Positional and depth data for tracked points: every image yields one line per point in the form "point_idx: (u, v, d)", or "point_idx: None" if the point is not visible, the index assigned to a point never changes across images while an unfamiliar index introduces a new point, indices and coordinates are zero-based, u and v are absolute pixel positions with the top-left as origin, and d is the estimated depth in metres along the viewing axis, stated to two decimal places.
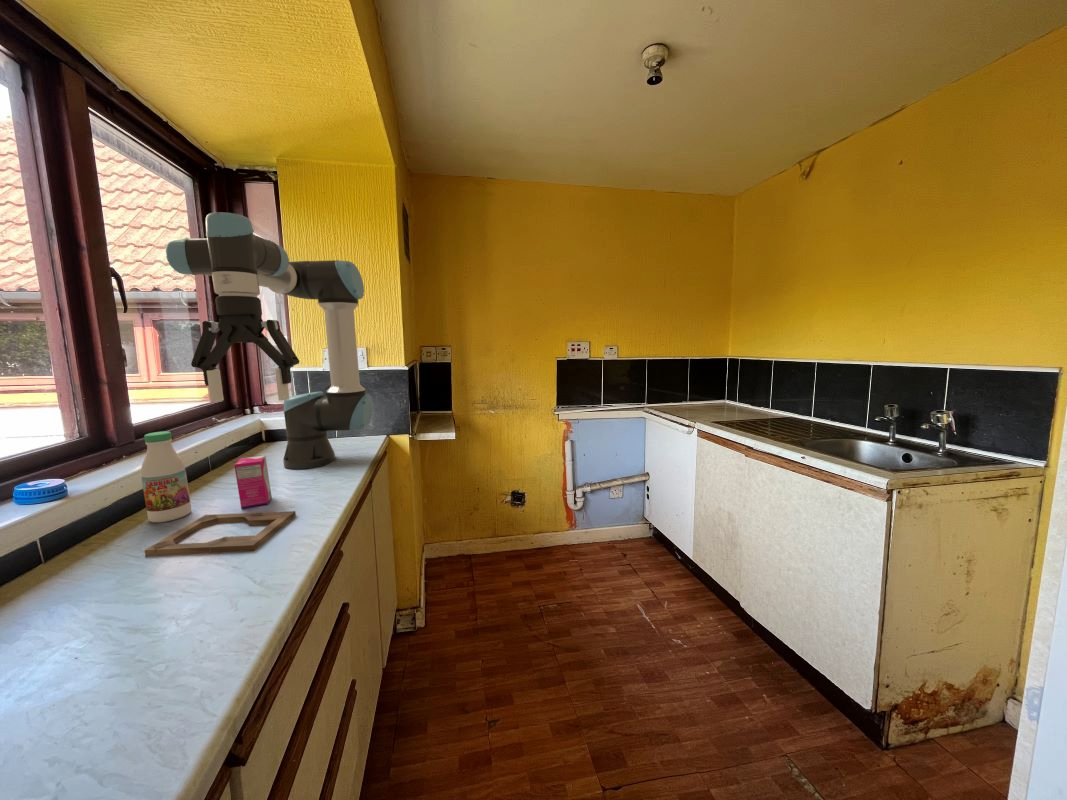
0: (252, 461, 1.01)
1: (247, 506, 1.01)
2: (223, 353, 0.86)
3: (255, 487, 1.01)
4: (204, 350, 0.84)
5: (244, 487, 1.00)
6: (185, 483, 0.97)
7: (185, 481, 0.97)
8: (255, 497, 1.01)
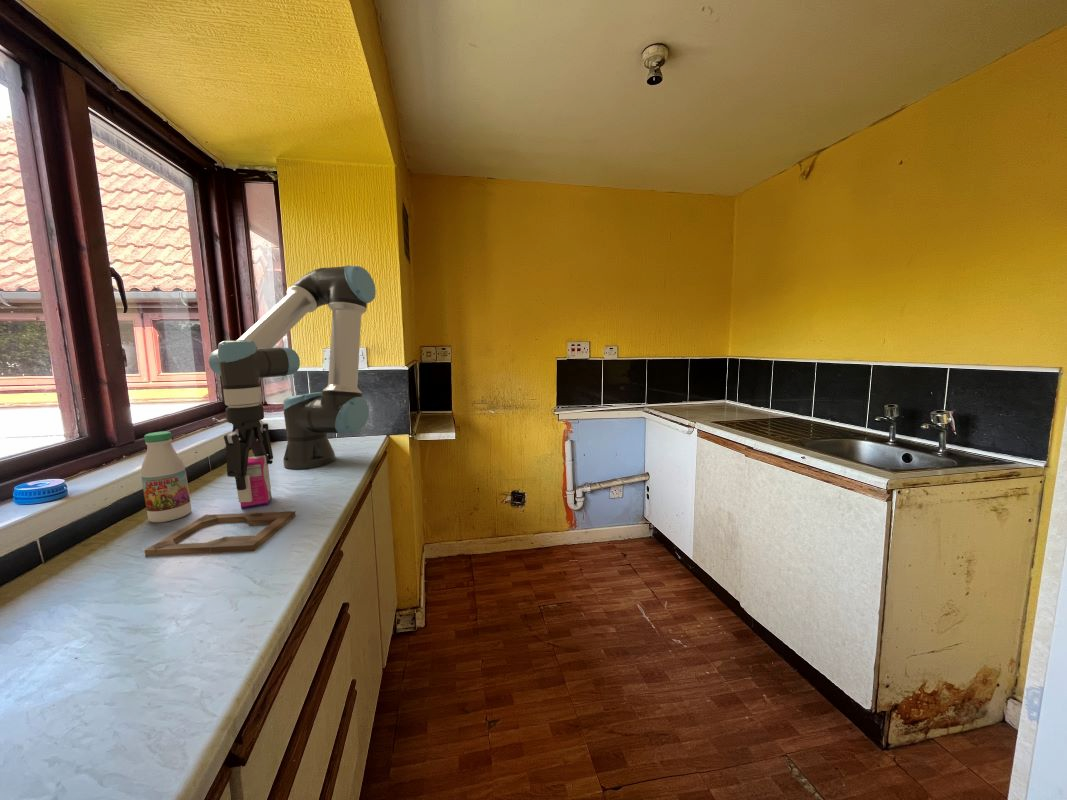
0: (252, 461, 1.01)
1: (247, 506, 1.01)
2: (259, 450, 1.05)
3: (255, 486, 1.01)
4: None
5: None
6: (185, 483, 0.97)
7: (185, 481, 0.97)
8: (255, 497, 1.01)
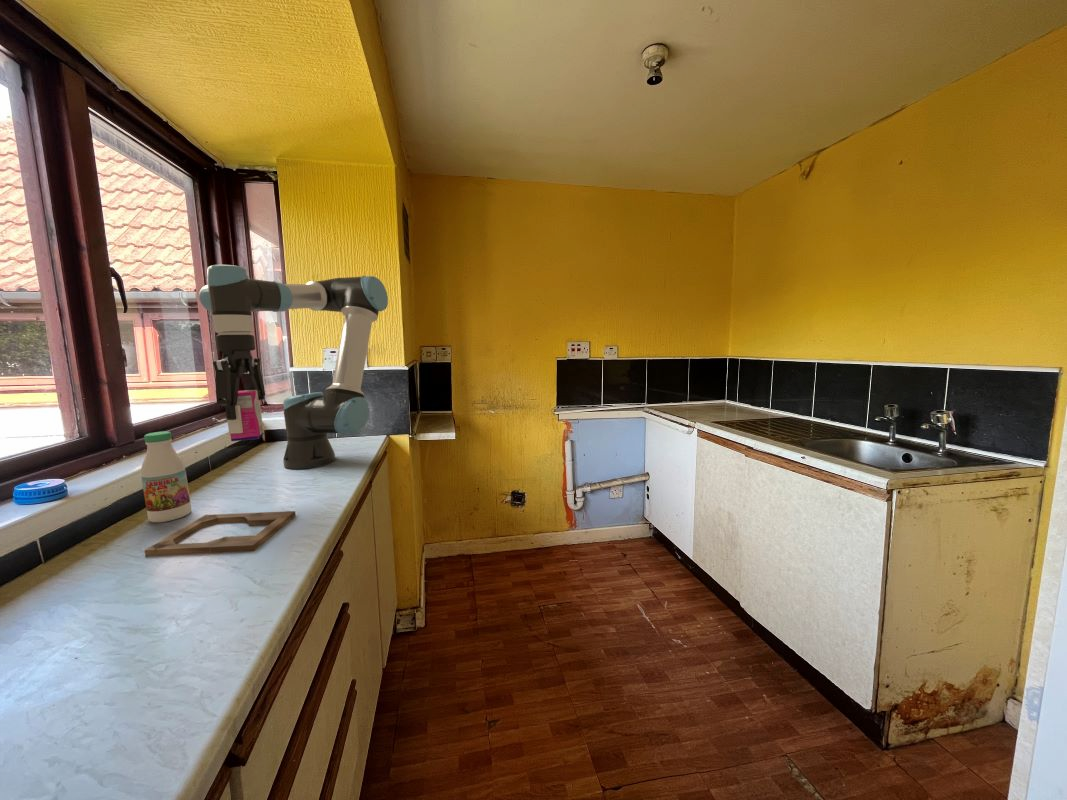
0: (243, 392, 0.98)
1: (237, 438, 0.98)
2: (250, 384, 1.02)
3: (245, 418, 0.98)
4: None
5: None
6: (185, 483, 0.97)
7: (185, 481, 0.97)
8: (246, 429, 0.99)
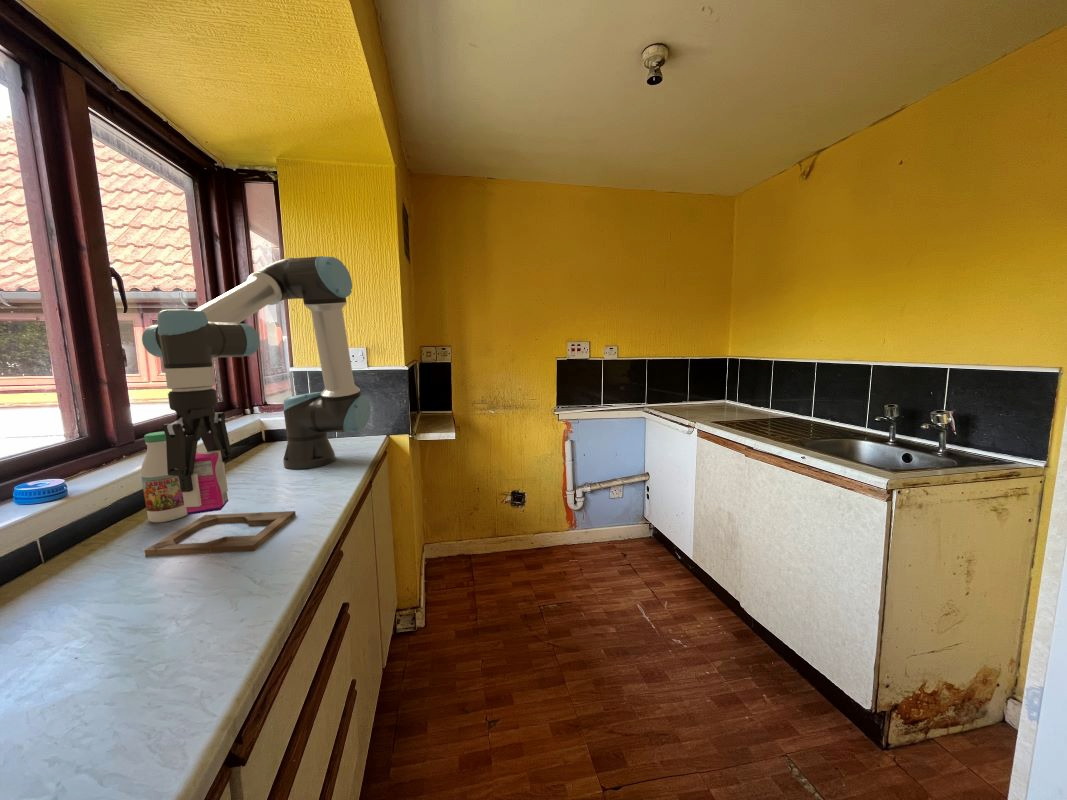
0: (201, 457, 0.83)
1: (195, 511, 0.83)
2: (213, 444, 0.88)
3: (204, 488, 0.83)
4: None
5: None
6: None
7: None
8: (205, 500, 0.84)
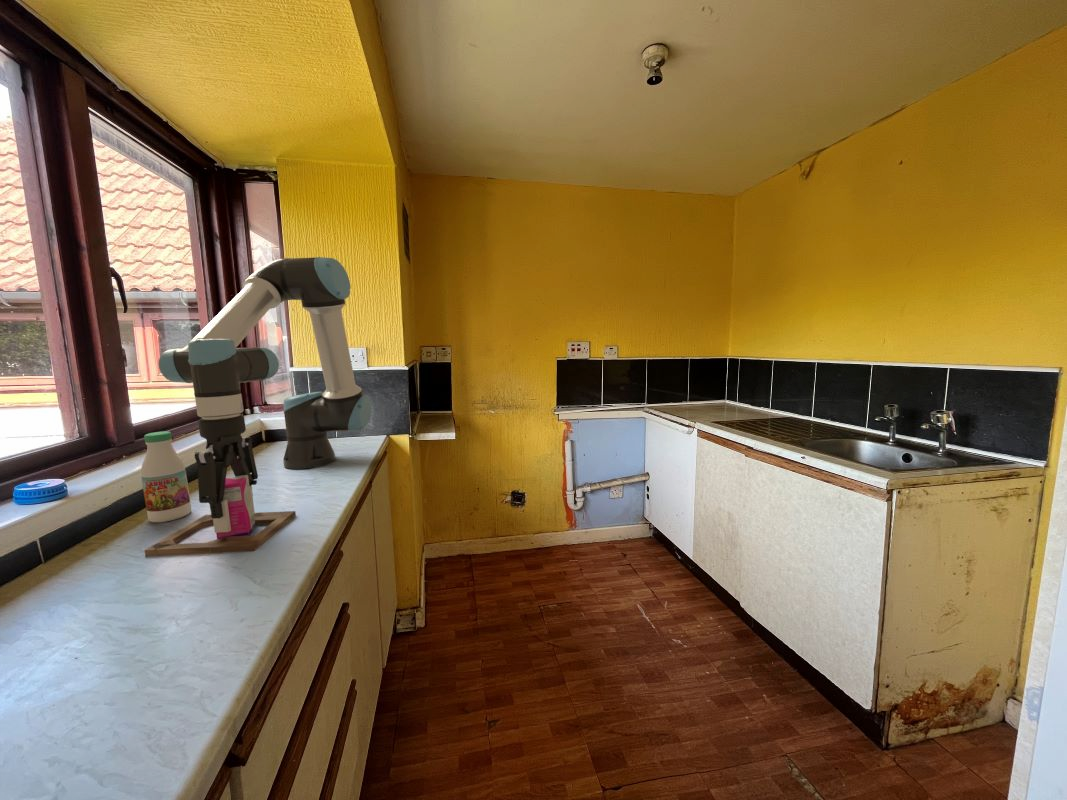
0: (230, 482, 0.85)
1: (224, 536, 0.85)
2: (240, 469, 0.89)
3: (234, 513, 0.85)
4: None
5: None
6: (185, 483, 0.97)
7: (185, 481, 0.97)
8: (234, 526, 0.85)
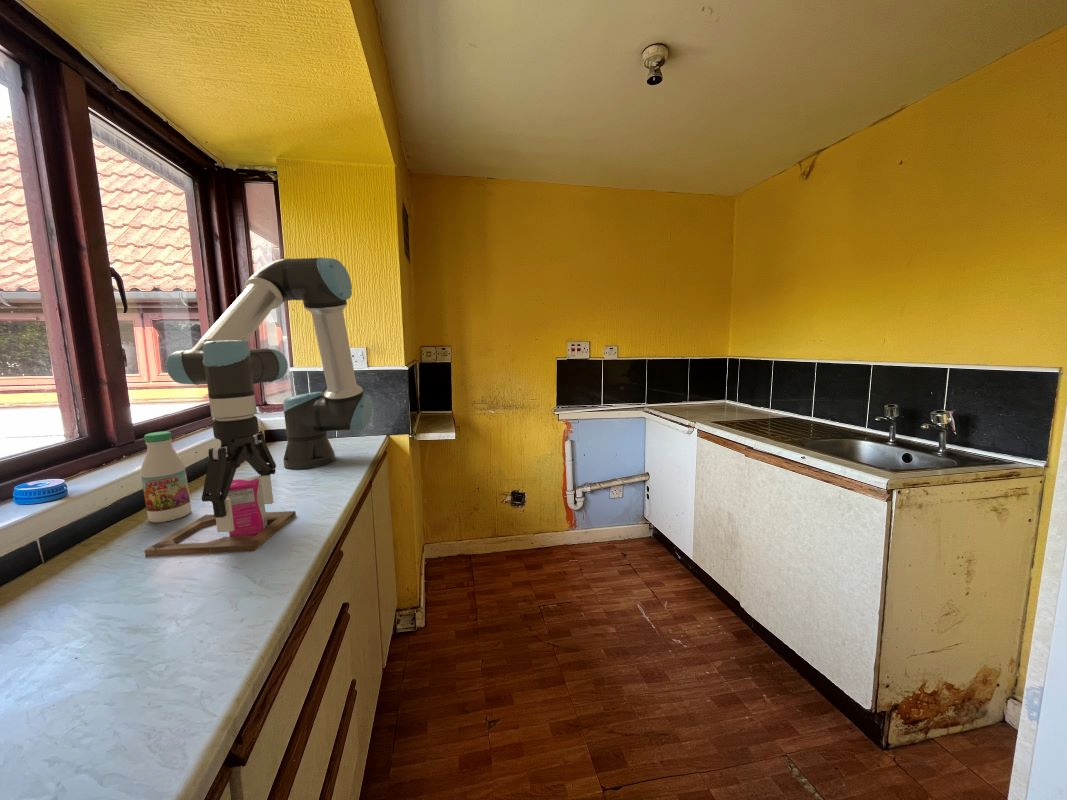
0: (243, 484, 0.85)
1: None
2: (258, 464, 0.91)
3: (247, 515, 0.85)
4: None
5: (234, 515, 0.84)
6: (185, 483, 0.97)
7: (185, 481, 0.97)
8: (247, 527, 0.85)
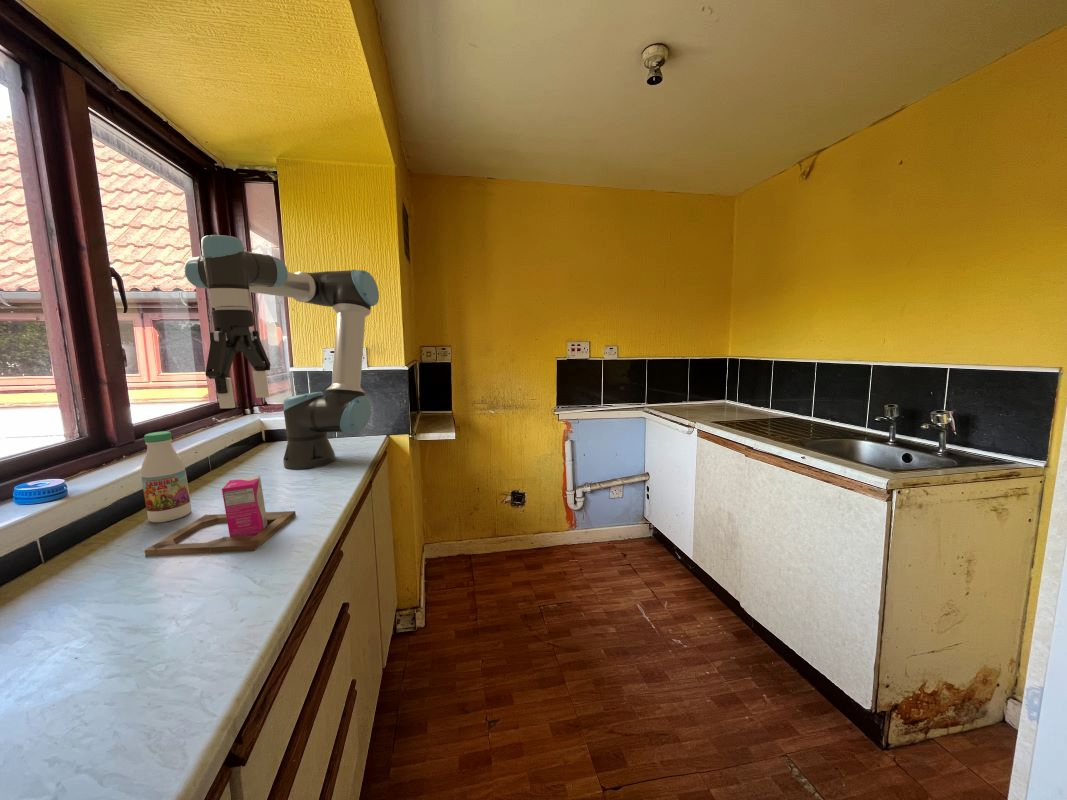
0: (243, 484, 0.85)
1: None
2: (254, 358, 1.00)
3: (247, 515, 0.85)
4: None
5: (234, 515, 0.84)
6: (185, 483, 0.97)
7: (185, 481, 0.97)
8: (247, 527, 0.85)
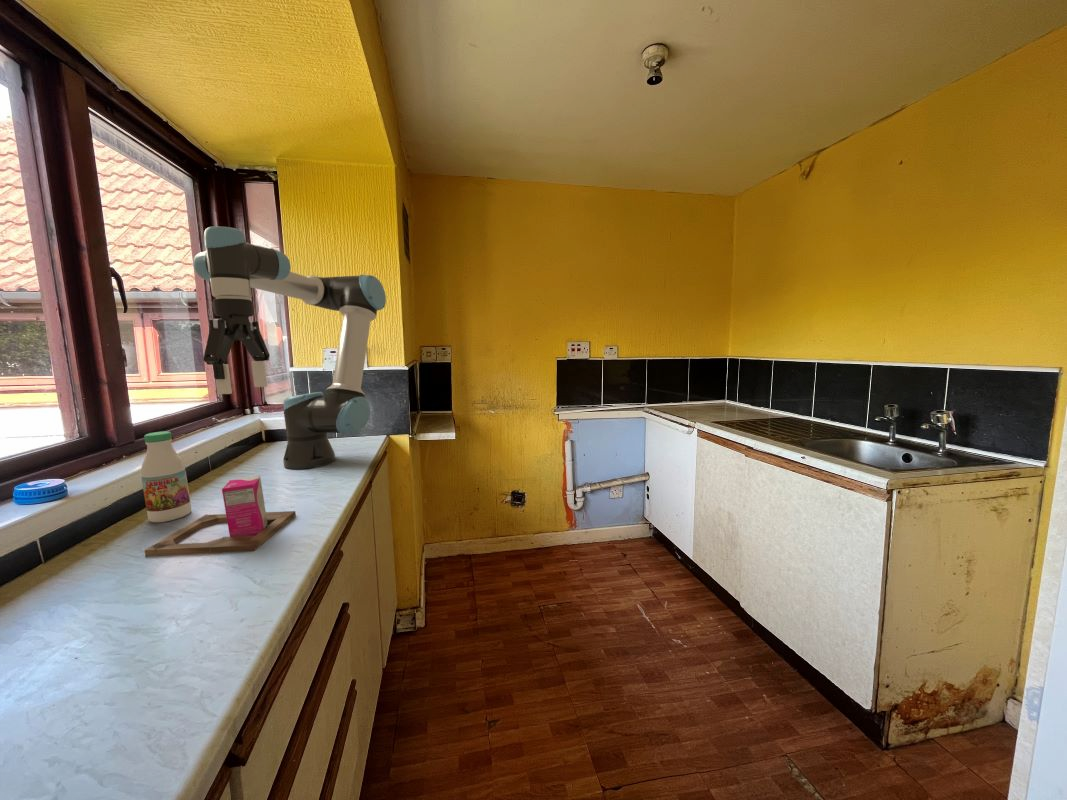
0: (243, 484, 0.85)
1: None
2: (253, 348, 1.02)
3: (247, 515, 0.85)
4: None
5: (234, 515, 0.84)
6: (185, 483, 0.97)
7: (185, 481, 0.97)
8: (247, 527, 0.85)
